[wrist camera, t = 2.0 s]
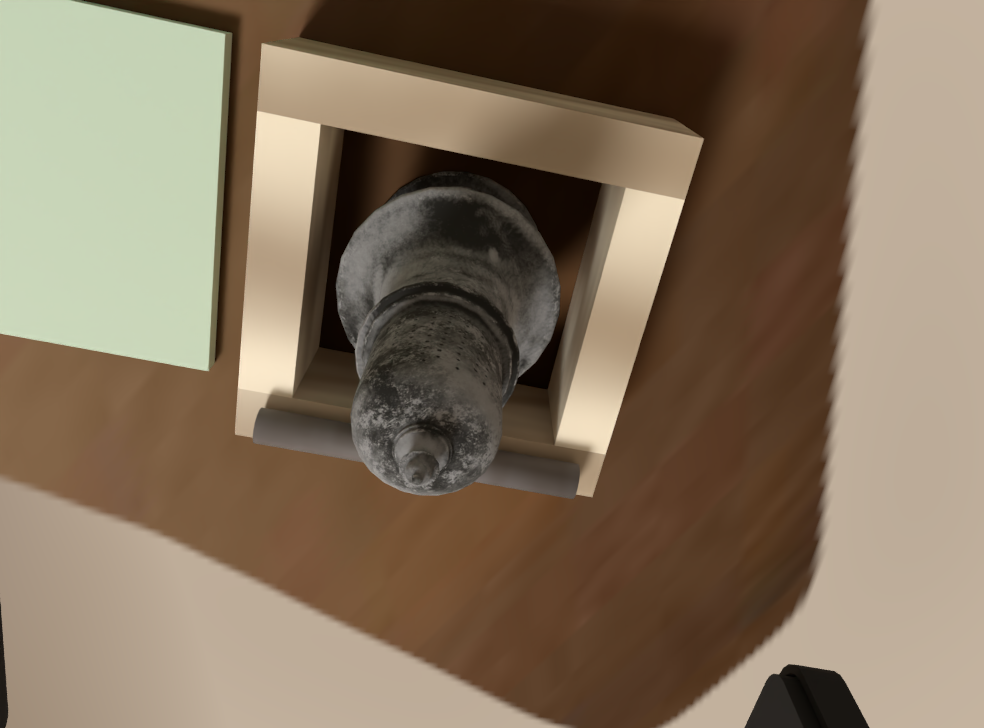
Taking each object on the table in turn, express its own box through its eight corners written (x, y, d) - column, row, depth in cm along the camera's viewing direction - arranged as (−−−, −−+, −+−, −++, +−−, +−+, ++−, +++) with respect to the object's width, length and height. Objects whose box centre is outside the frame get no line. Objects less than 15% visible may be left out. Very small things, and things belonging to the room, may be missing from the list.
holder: (298, 37, 21) (248, 45, 17) (674, 118, 21) (714, 145, 17) (268, 379, 25) (223, 452, 21) (580, 436, 26) (595, 517, 22)
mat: (-157, -51, 20) (-176, -53, 19) (232, 33, 21) (225, 34, 20) (-107, 304, 24) (-122, 311, 23) (214, 363, 25) (208, 370, 24)
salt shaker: (408, 372, 25) (338, 657, 14) (324, 206, 23) (161, 393, 12) (579, 308, 24) (645, 562, 13) (509, 128, 22) (519, 253, 11)
